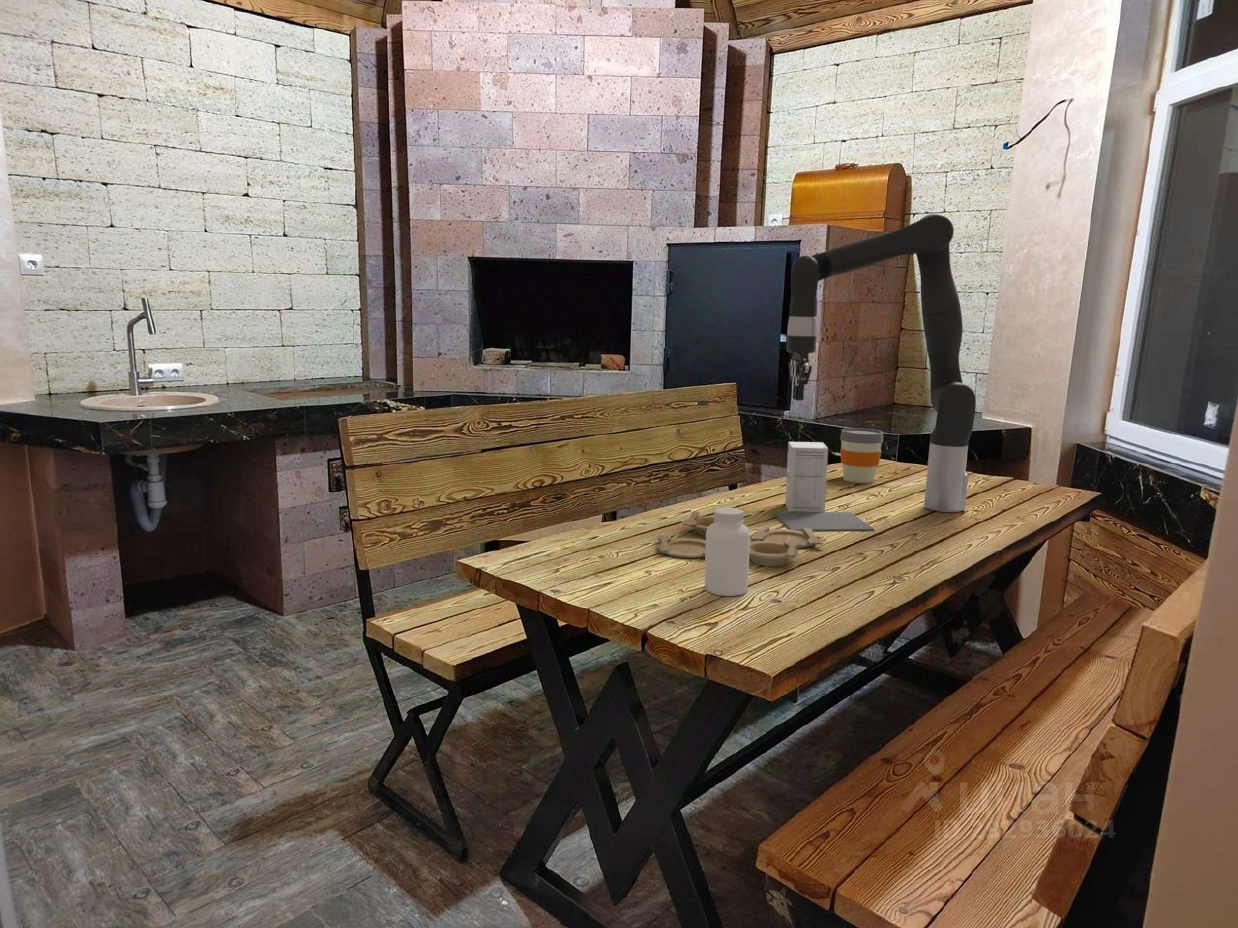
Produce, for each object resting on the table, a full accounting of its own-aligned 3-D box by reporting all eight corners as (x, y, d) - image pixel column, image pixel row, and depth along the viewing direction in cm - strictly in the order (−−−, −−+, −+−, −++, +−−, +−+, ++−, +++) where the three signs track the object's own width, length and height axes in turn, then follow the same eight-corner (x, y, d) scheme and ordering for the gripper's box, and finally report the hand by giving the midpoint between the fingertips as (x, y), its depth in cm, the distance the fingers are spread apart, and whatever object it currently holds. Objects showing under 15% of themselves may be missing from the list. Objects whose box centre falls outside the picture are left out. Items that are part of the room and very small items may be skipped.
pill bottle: (700, 582, 154) (703, 505, 151) (742, 582, 154) (746, 505, 151) (708, 597, 146) (711, 516, 143) (752, 597, 146) (756, 516, 144)
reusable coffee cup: (853, 473, 258) (856, 426, 255) (888, 480, 249) (892, 432, 246) (828, 478, 250) (832, 430, 247) (864, 485, 241) (868, 435, 238)
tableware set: (827, 538, 186) (828, 521, 186) (813, 577, 159) (815, 557, 158) (678, 522, 197) (679, 506, 197) (642, 556, 170) (642, 538, 169)
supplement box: (820, 504, 217) (824, 442, 213) (825, 513, 208) (830, 448, 204) (783, 503, 218) (787, 440, 214) (787, 511, 209) (791, 446, 205)
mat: (849, 513, 208) (849, 512, 208) (874, 530, 192) (874, 529, 192) (772, 513, 206) (772, 512, 206) (791, 531, 190) (791, 529, 190)
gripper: (824, 335, 209) (819, 403, 212) (807, 333, 222) (803, 397, 225) (795, 335, 208) (791, 402, 211) (780, 333, 221) (777, 397, 225)
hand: (797, 399), depth 218 cm, fingers closed
